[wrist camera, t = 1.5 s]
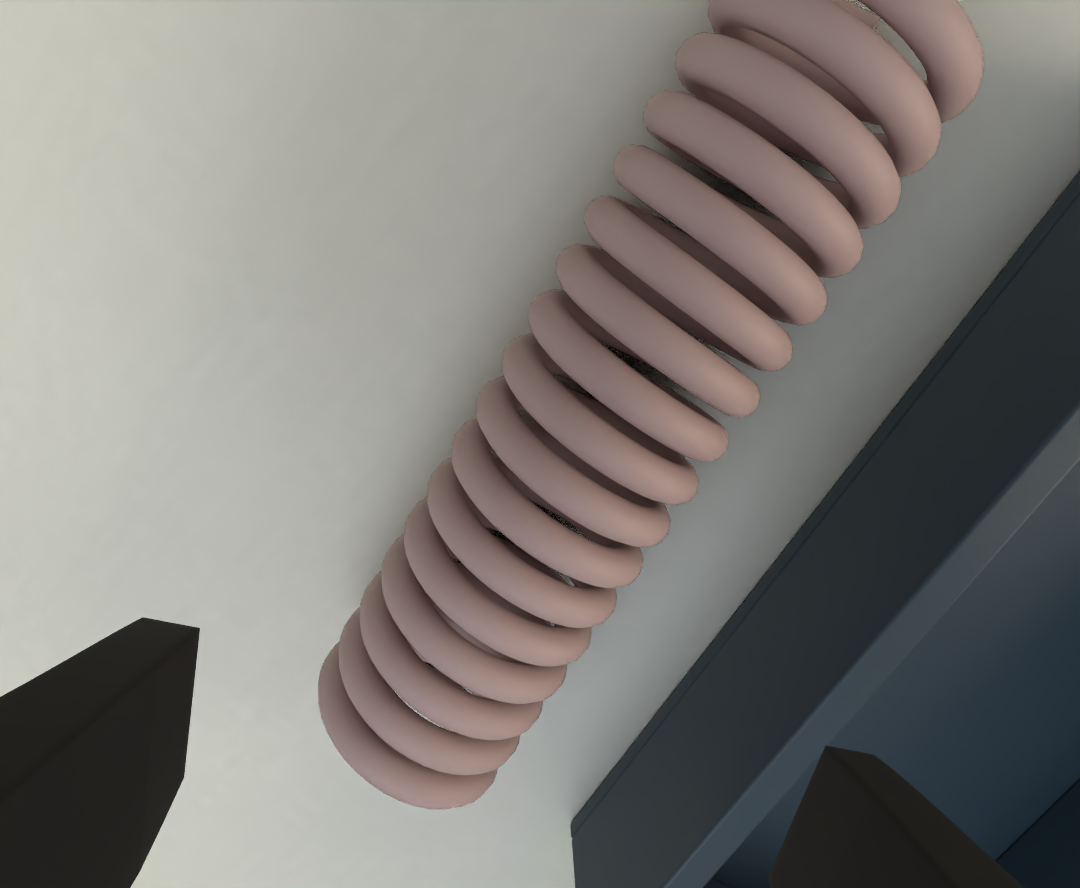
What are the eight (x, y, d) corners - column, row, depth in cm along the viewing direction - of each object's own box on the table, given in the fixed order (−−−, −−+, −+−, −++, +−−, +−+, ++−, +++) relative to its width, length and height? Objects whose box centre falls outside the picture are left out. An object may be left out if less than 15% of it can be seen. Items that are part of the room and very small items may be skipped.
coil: (488, 859, 16) (1091, 33, 11) (276, 790, 15) (853, -181, 10) (480, 706, 20) (912, 62, 15) (316, 642, 19) (730, -84, 14)
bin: (1498, 375, 17) (1811, 437, 13) (887, 970, 23) (968, 1145, 19) (1141, 89, 15) (1378, 53, 11) (569, 823, 21) (580, 983, 17)
